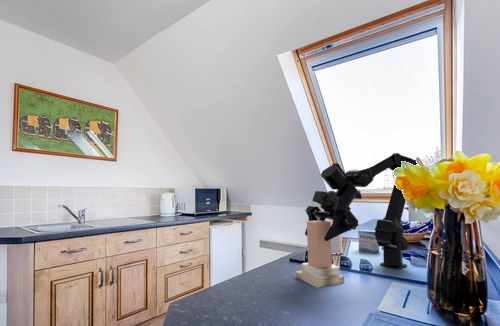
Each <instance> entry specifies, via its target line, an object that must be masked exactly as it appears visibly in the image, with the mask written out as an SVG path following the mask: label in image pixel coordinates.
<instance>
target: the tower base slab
mask: <svg viewBox="0 0 500 326" xmlns="http://www.w3.org/2000/svg"><path fill="white" fill-rule="evenodd" d="M295 278H297V279H299V280H301V281H303V282H305V283H306V284H309V285H310V286H313V287H315V288H317V289H318V288H322V287H327V286H332V285H339V284H342V283H345V276H344V275H342V274H340V276H336V277H330V278H324V279H316V278H314V277H312V276H310V275H308V274H306V273H304V272H302V270H298V271H297V270H296V272H295Z"/></svg>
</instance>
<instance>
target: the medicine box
mask: <svg viewBox="0 0 500 326" xmlns="http://www.w3.org/2000/svg"><path fill="white" fill-rule="evenodd" d="M375 231H376V230H369V229H368V230H367V229H365V230H364V229H359V230H358V232H357V233H358V235H357V236H358V251H359V252H360V251H362V252H361V253H371V254H379V253H380V246H378V243H377V240H376V237H375Z"/></svg>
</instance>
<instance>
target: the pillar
mask: <svg viewBox="0 0 500 326" xmlns="http://www.w3.org/2000/svg"><path fill="white" fill-rule="evenodd" d="M330 227H331V225H330V221H326V220H325V221H322V220H317V221H308V220H307V221H306V228H307V236H306V237H307V240H306V241H307V263H308V264H309V265H312V266H314V267H316V268H323V267H330V266H332V264H333V260H332V259H333V258H332V255H333V254H332V252H331V239H330V240H329V241H325V240H324V238H325V236H326V234H327V232H328V230H329V229H330Z"/></svg>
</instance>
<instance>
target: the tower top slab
mask: <svg viewBox="0 0 500 326" xmlns="http://www.w3.org/2000/svg"><path fill="white" fill-rule="evenodd" d="M301 271H302V272H304V273H306V274H308V275H310V276H312V277H314V278H316V279H324V278H330V277H336V276H340V275H341V266H337V265H335V264H334V263H332V266H330V267H323V268H316V267H314V266H312V265H309V264H308V262H303V263H301Z"/></svg>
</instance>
